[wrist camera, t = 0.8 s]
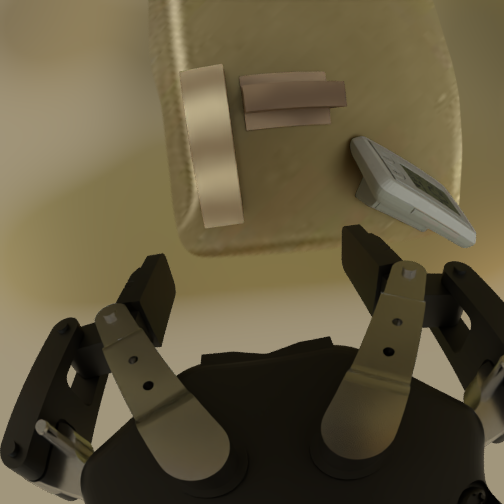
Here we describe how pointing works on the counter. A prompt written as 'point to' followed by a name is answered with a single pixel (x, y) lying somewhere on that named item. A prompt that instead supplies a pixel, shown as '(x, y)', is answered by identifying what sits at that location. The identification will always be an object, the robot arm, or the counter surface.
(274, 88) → the walnut ridge
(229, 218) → the beige long bar
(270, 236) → the counter surface
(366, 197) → the digital clock
